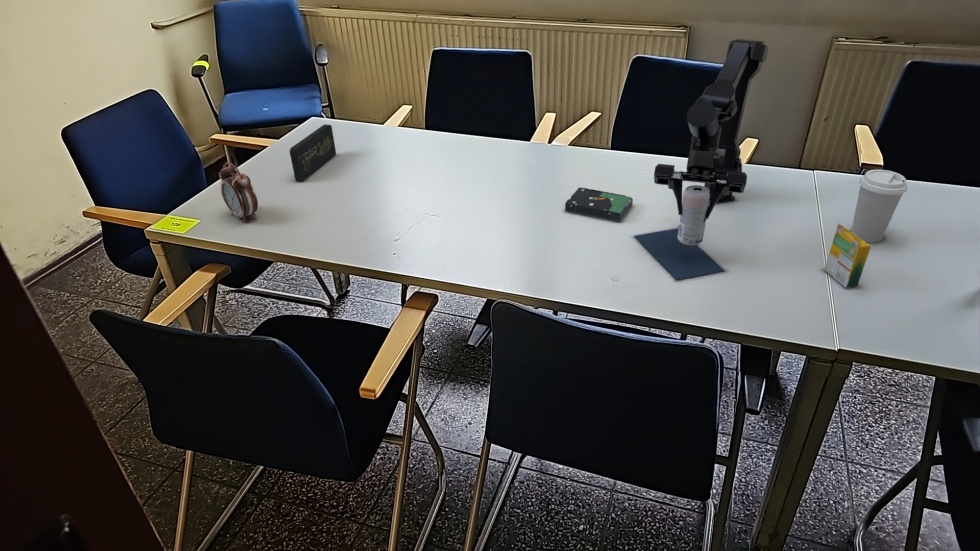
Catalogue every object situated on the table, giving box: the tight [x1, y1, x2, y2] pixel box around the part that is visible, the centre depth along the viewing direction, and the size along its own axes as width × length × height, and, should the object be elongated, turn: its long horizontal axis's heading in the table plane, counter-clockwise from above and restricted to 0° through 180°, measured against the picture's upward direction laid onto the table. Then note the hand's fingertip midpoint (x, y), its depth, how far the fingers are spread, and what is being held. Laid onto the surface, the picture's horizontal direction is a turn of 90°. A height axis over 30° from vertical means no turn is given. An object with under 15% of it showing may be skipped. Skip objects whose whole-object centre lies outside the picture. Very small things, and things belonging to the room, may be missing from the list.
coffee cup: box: [850, 169, 908, 244], centre depth 149 cm, size 10×10×15 cm
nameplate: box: [289, 124, 337, 182], centre depth 193 cm, size 21×2×10 cm, turn 163°
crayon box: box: [823, 222, 872, 289], centre depth 136 cm, size 7×3×12 cm, turn 12°
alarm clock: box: [218, 161, 259, 223], centre depth 167 cm, size 11×5×15 cm, turn 47°
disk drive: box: [564, 186, 634, 222], centre depth 168 cm, size 10×3×15 cm
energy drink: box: [677, 184, 710, 246], centre depth 141 cm, size 5×5×12 cm
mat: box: [633, 227, 726, 281], centre depth 149 cm, size 12×20×1 cm, turn 16°
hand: (693, 216), depth 139 cm, fingers closed on energy drink, 5 cm apart
